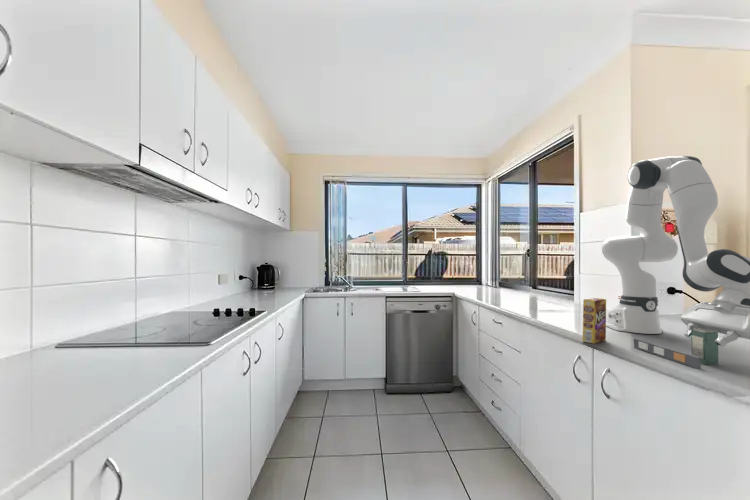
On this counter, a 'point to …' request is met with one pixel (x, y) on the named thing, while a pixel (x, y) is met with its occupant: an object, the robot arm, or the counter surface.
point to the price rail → (668, 353)
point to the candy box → (594, 320)
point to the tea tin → (705, 346)
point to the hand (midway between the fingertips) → (702, 340)
